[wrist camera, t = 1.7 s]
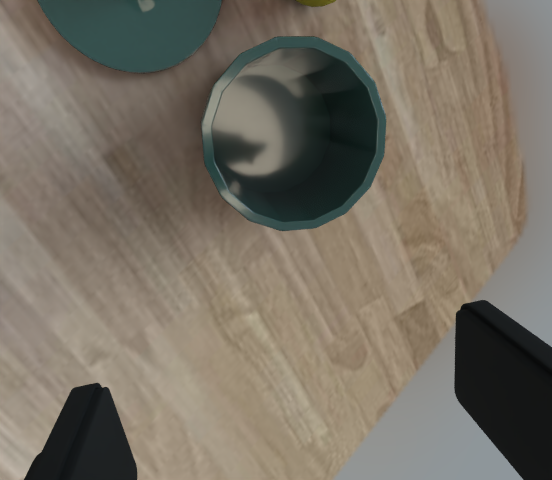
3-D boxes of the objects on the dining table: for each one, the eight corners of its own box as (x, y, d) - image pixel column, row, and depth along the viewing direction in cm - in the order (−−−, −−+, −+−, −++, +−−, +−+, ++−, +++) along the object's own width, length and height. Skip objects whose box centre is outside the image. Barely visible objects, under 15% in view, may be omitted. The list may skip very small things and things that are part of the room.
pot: (184, 172, 33) (177, 198, 23) (227, 33, 30) (239, 0, 21) (305, 213, 36) (343, 250, 27) (354, 90, 33) (415, 83, 24)
